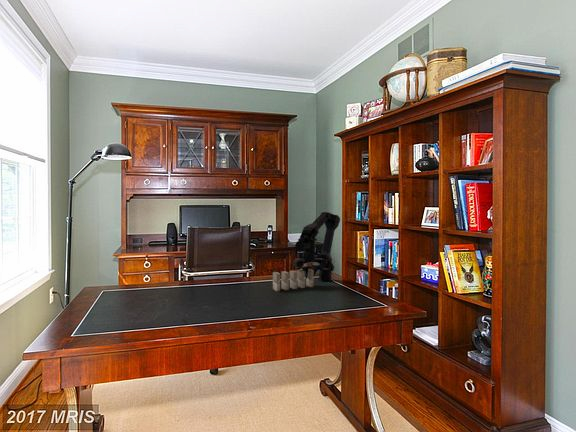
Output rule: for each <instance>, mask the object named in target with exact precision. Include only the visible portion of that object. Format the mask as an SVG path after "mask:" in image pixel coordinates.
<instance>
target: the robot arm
mask: <svg viewBox="0 0 576 432" xmlns="http://www.w3.org/2000/svg"><path fill="white" fill-rule="evenodd" d="M340 222H341V217H340V216H339V215H338V214H334V213H331V212H328V211H323V212H320V215H319V216H318V217H317V218H316V219H315V220H314V221H313V222H311V223H309V224H307V225H305V226H304V227H303V228H302V231H301V233H300V236H299V238H297V239H298V240H297V241H296V242H295V244H294V248H295V250H296V251H297V253H296V260H292V263H291V264H292V266H294V267H296V268H301V270H303V271H304V273H305V280H306V279H307V277H308V269H309V266H308V265H311V270H314V277H315V275H316V274H317V272H318V271H319V272H318V278H317V279H318V281H319V282H323V283H327V282H333V281H334V280H333V279H332V274H333V271H335V265H334V264H333V261H332V256H331V251H332V247H333V246H332V245H333V241H334V236H335V232H336V231H335V230H337V229H338V227H339V225H340ZM323 225H324V226H325V229H326V230H325V234H324V238H323V243H322V244H323V245H322V248H321V249H322V250H321V252H320V253H318V254H317V251H316V242H317V241H318V239H317V236H318V234H319V230H320V229H321V228H322V226H323ZM316 255H317V257H316Z"/></svg>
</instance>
